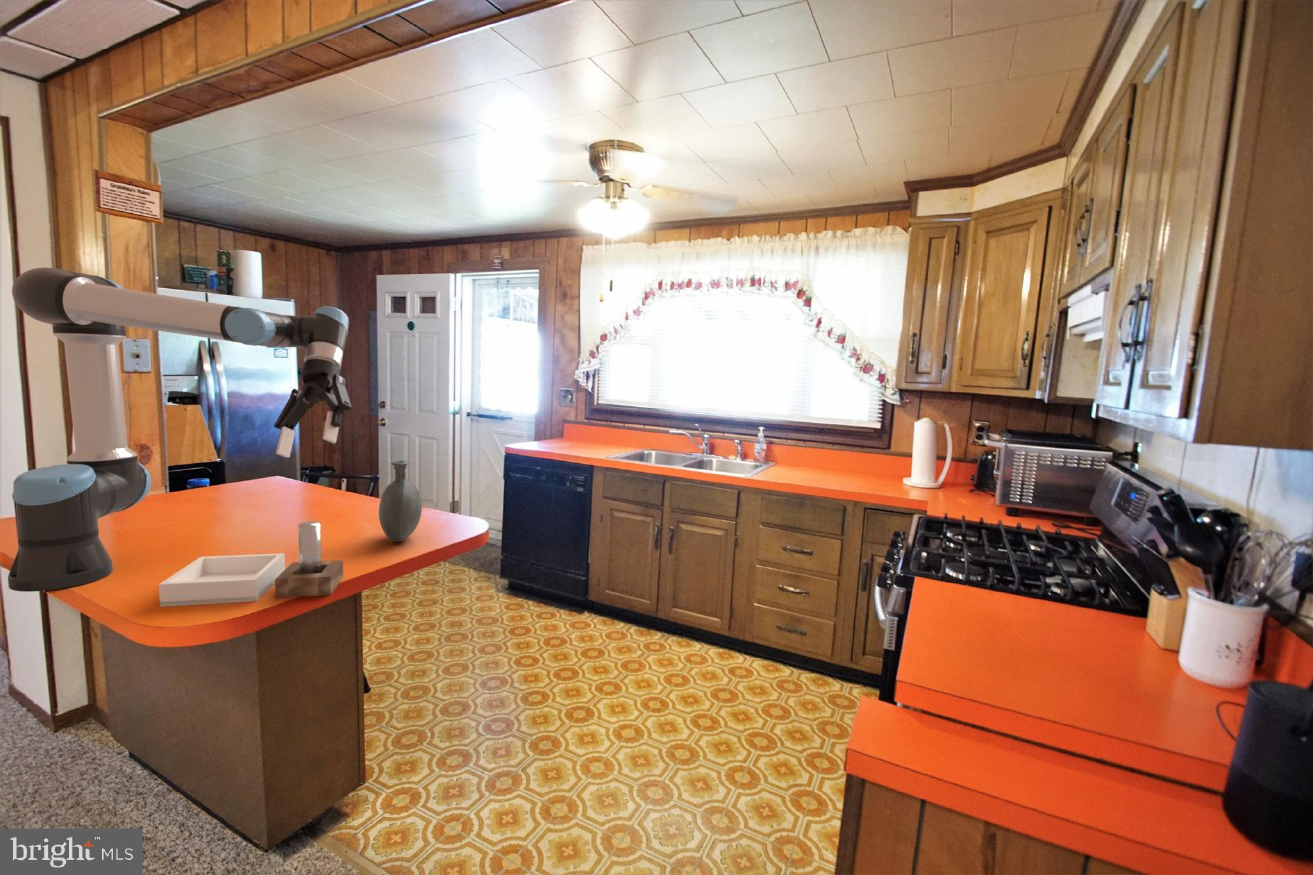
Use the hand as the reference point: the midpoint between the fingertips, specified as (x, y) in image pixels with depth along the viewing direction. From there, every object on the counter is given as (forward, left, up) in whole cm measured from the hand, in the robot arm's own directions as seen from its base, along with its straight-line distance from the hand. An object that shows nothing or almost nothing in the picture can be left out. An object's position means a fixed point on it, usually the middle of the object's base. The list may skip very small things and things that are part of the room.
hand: (305, 448), depth 122 cm
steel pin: (+2, -6, -29) cm, 30 cm away
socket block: (+2, -6, -29) cm, 30 cm away
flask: (+15, +26, -29) cm, 42 cm away
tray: (-14, -4, -29) cm, 33 cm away
